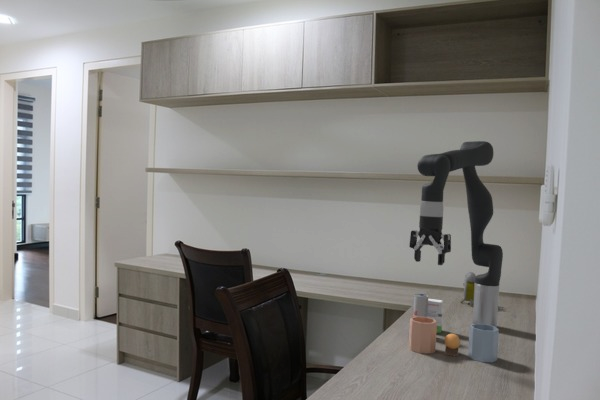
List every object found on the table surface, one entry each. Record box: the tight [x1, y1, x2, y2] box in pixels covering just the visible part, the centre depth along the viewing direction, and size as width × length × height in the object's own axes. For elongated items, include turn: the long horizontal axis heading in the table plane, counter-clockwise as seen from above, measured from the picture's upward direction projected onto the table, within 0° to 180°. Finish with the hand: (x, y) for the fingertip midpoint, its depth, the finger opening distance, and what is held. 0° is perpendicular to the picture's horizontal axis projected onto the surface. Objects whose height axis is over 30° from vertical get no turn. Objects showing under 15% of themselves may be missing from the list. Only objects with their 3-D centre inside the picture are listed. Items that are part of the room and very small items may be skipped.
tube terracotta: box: [408, 316, 437, 354], centre depth 166 cm, size 8×8×10 cm
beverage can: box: [412, 293, 429, 317], centre depth 182 cm, size 5×5×15 cm
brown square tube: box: [444, 345, 459, 357], centre depth 163 cm, size 4×4×2 cm
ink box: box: [427, 298, 444, 334], centre depth 189 cm, size 9×5×12 cm, turn 67°
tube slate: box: [467, 323, 500, 364], centre depth 160 cm, size 8×8×10 cm
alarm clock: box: [460, 271, 477, 307], centre depth 236 cm, size 12×7×15 cm, turn 162°
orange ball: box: [443, 333, 461, 349], centre depth 163 cm, size 5×5×5 cm
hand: (428, 263), depth 165 cm, fingers open, 8 cm apart
